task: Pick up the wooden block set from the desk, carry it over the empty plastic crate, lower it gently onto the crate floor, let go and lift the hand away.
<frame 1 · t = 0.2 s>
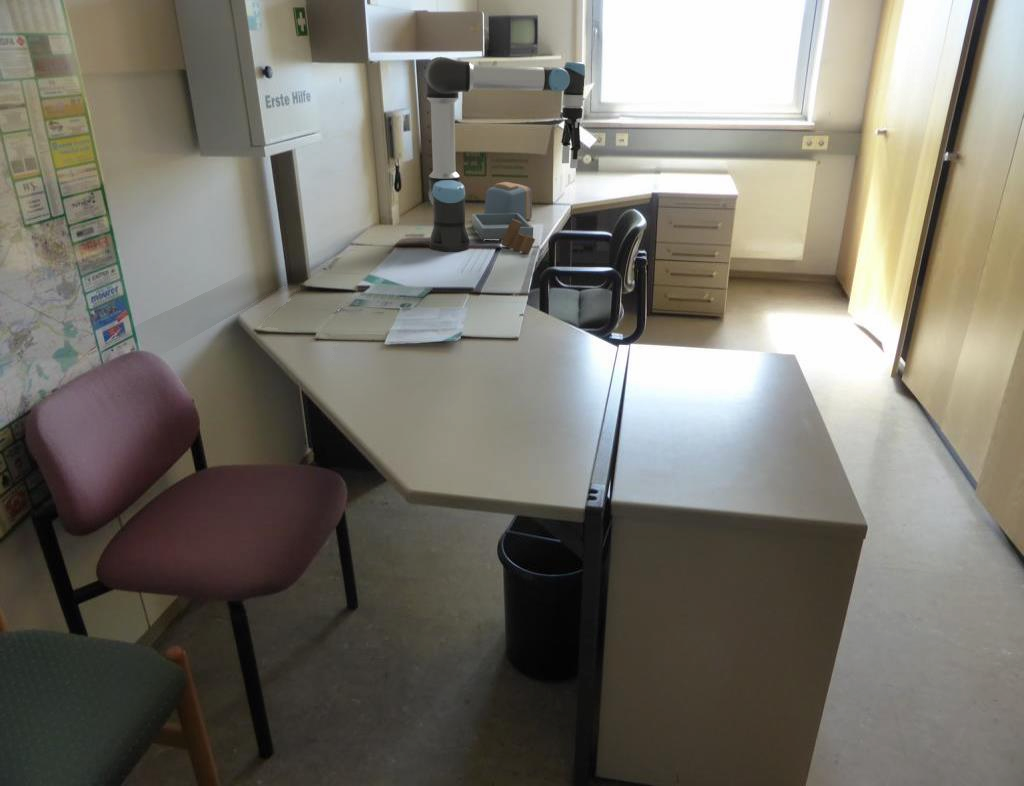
hand: (569, 165, 283), 28 cm above the table, tool pointing down, fingers open, 13 cm apart
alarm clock: (507, 219, 324), on the table
crate: (501, 232, 298), on the table
wooden block set: (515, 249, 275), on the table
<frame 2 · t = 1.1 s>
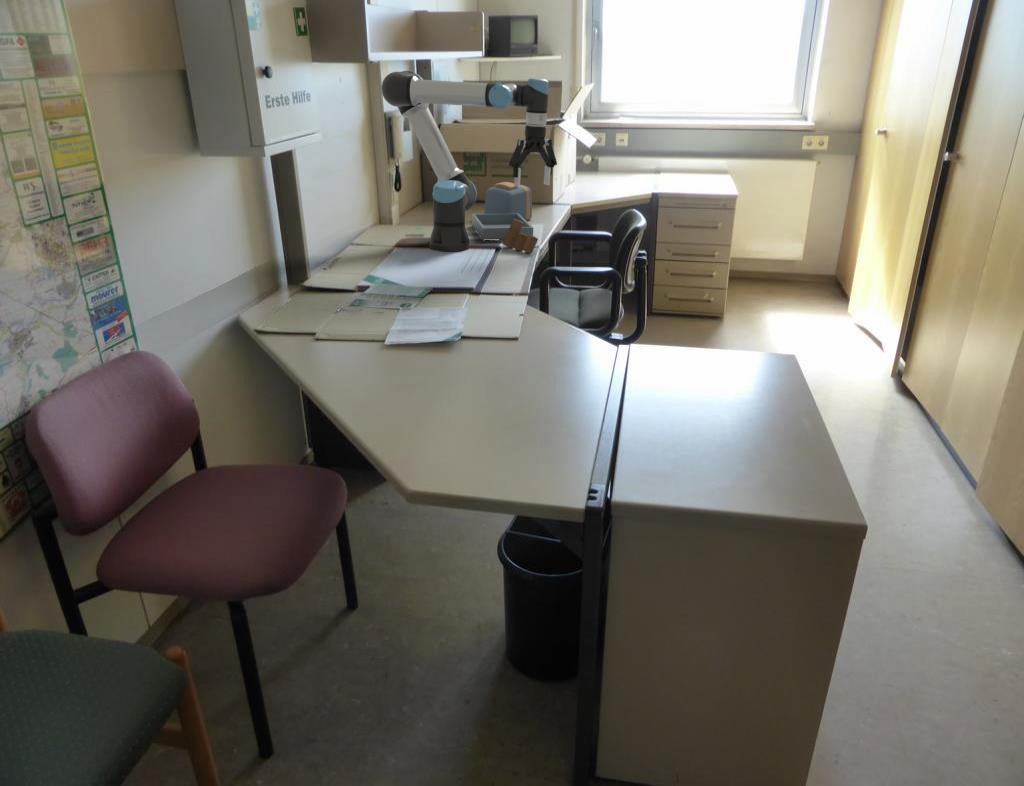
hand: (531, 185, 272), 22 cm above the table, tool pointing down, fingers open, 13 cm apart
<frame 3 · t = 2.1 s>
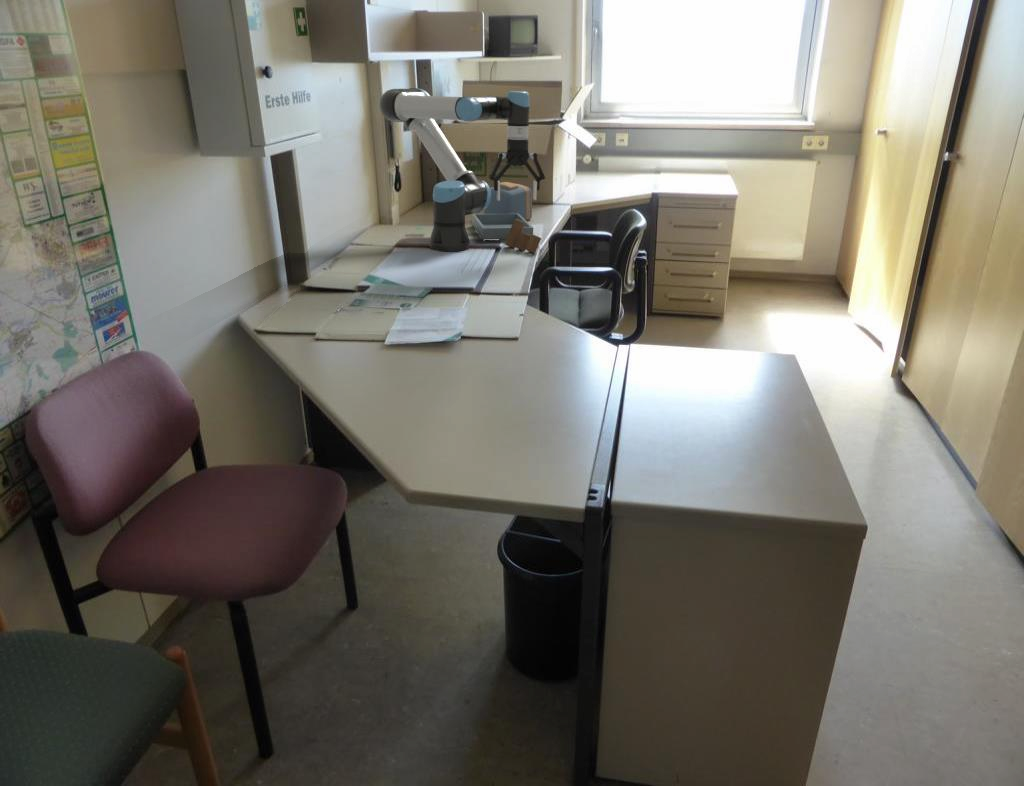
hand: (516, 199, 267), 18 cm above the table, tool pointing down, fingers open, 13 cm apart
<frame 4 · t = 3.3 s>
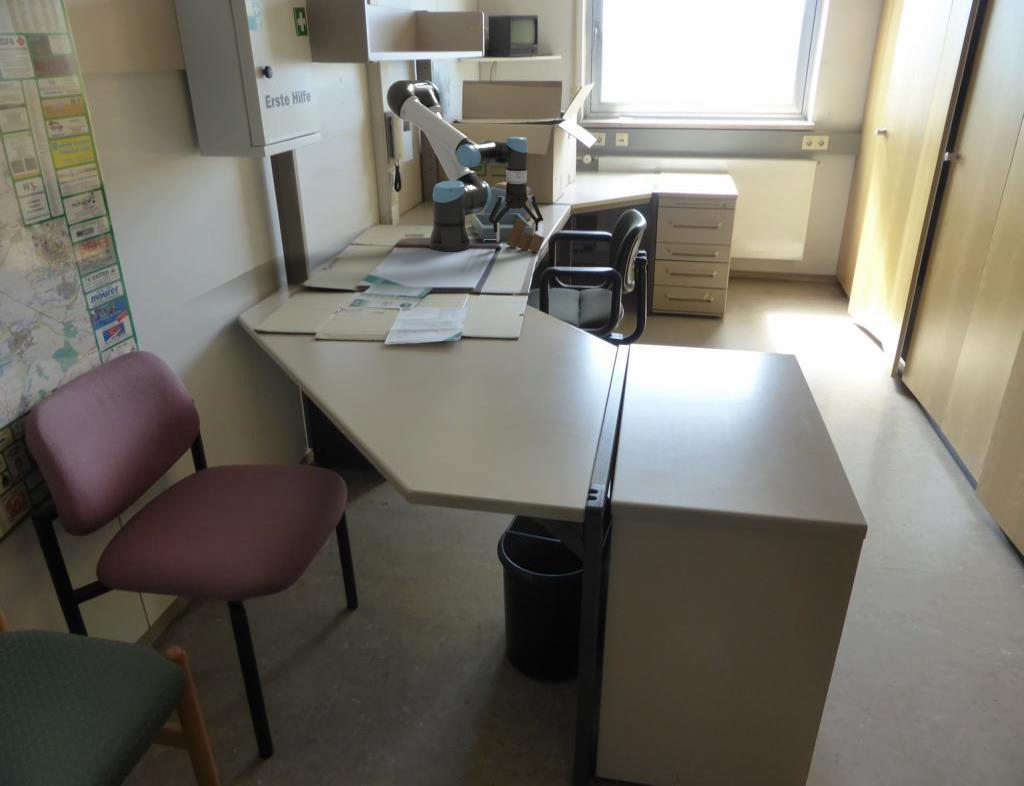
hand: (515, 240, 273), 3 cm above the table, tool pointing down, fingers open, 13 cm apart
wooden block set: (521, 249, 276), on the table, touching gripper
everything else where it was.
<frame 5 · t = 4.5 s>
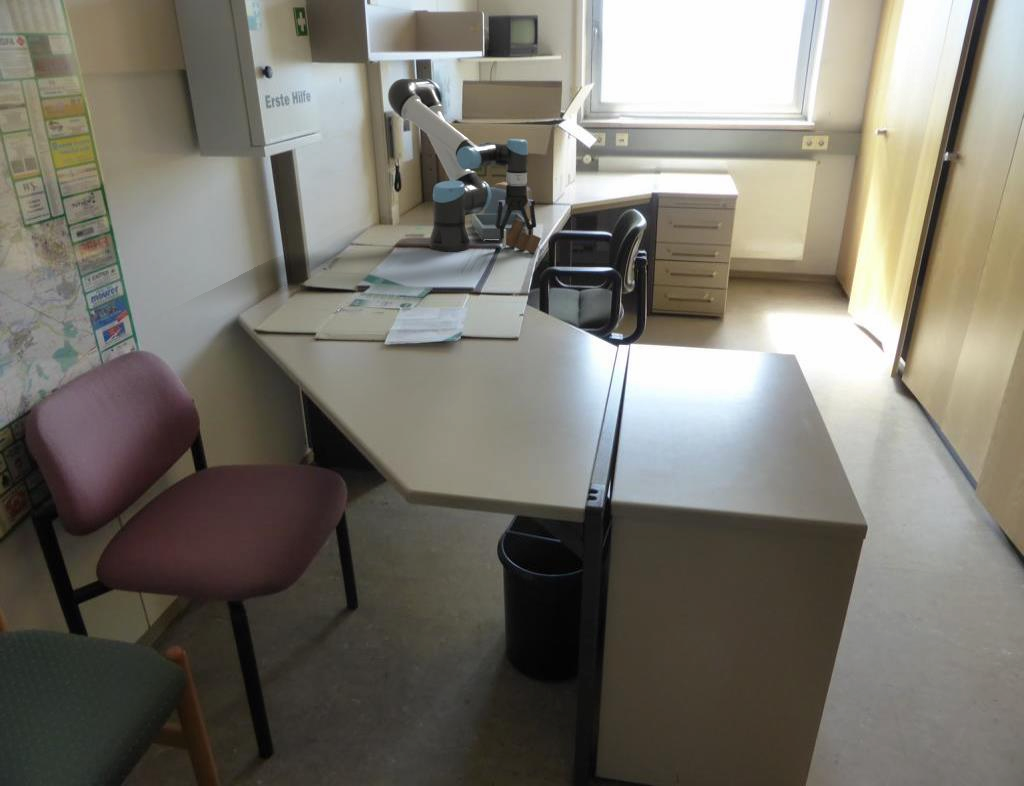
hand: (515, 246, 274), 1 cm above the table, tool pointing down, fingers closed on wooden block set, 8 cm apart
wooden block set: (519, 249, 274), on the table, touching gripper
everything else where it was.
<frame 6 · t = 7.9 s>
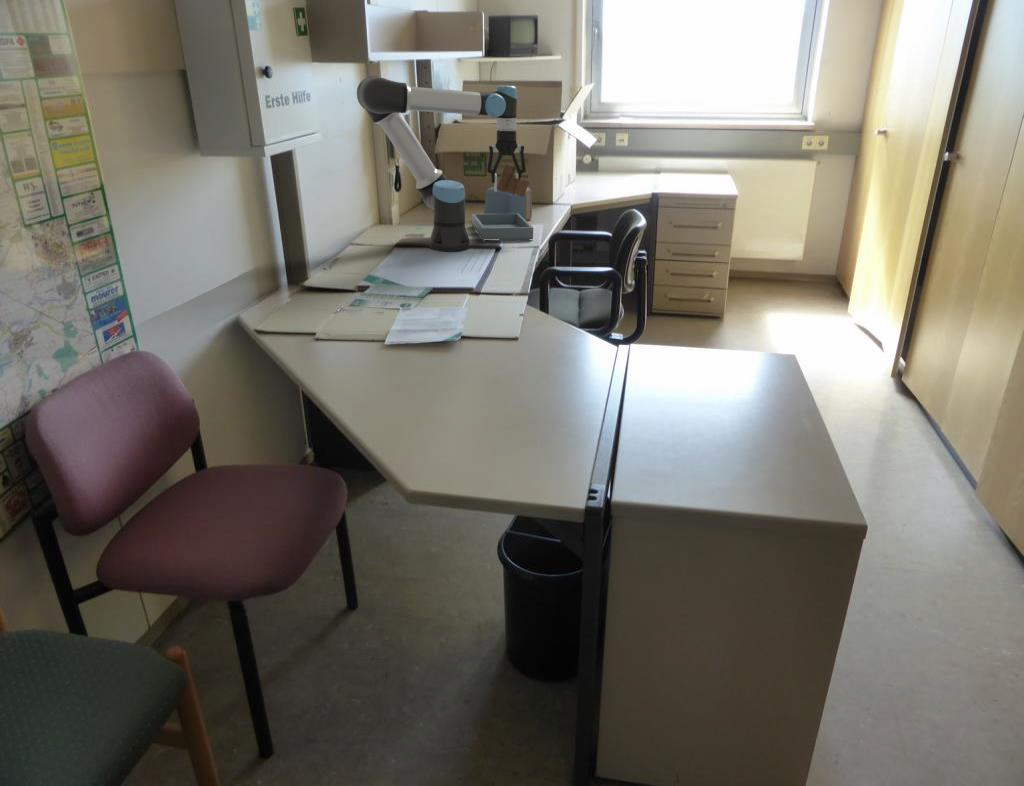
hand: (506, 191, 287), 18 cm above the table, tool pointing down, fingers closed on wooden block set, 8 cm apart
wooden block set: (510, 193, 287), point 16 cm above the table, touching gripper
everything else where it was.
when the fingers open (3 cm above the table, at t = 11.4 s): wooden block set stays where it is, resting on crate.
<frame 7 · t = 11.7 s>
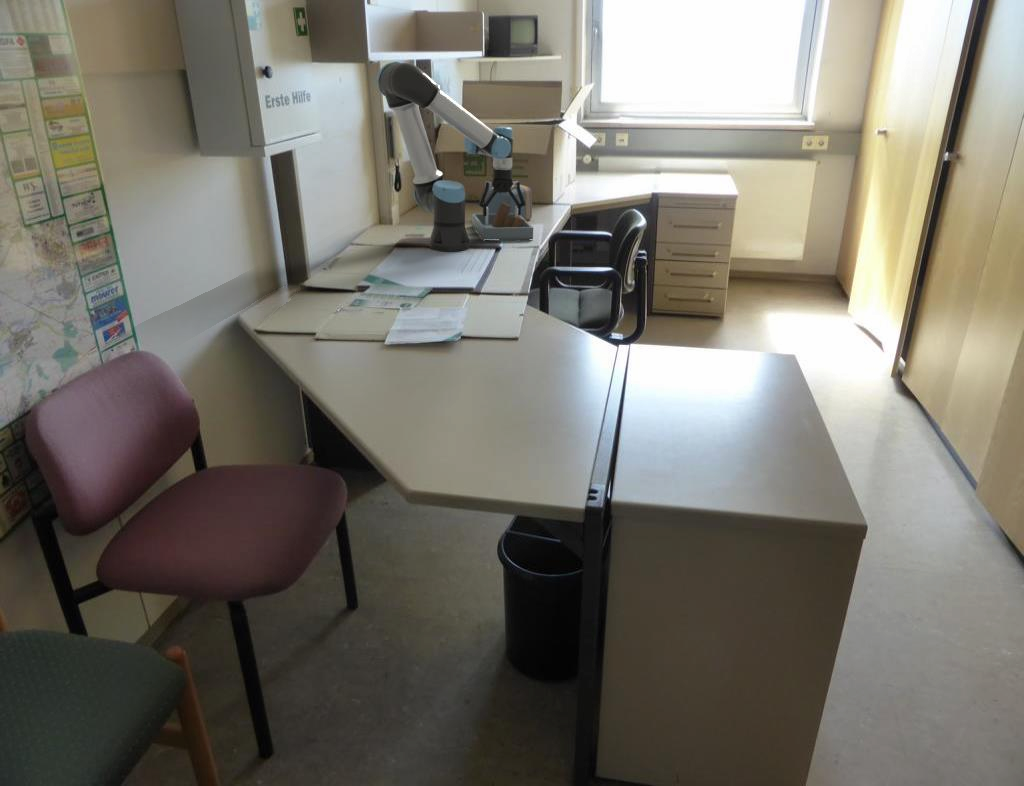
hand: (501, 223, 297), 4 cm above the table, tool pointing down, fingers open, 11 cm apart
wooden block set: (505, 230, 298), point 1 cm above the table, touching crate
everything else where it was.
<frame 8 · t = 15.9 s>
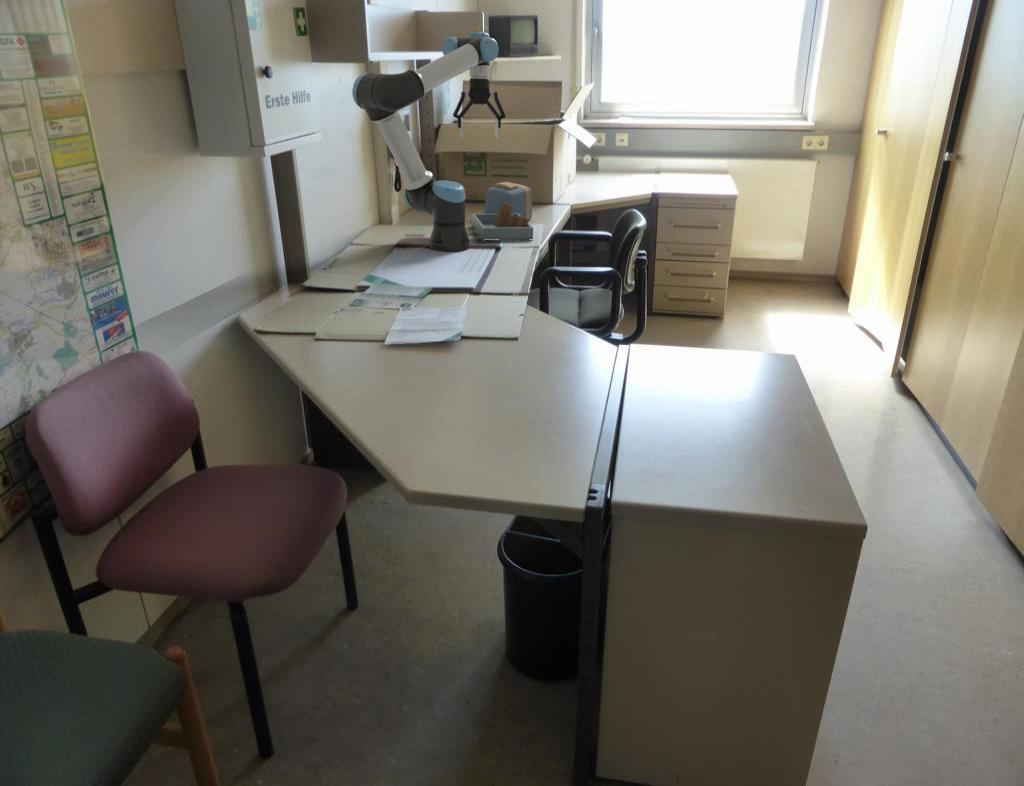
hand: (479, 137, 284), 37 cm above the table, tool pointing down, fingers open, 13 cm apart
wooden block set: (508, 230, 299), point 1 cm above the table, touching crate
everything else where it was.
at the end: wooden block set inside the target area on the crate (2.9 cm from its centre), point 0.8 cm above the crate's base; wooden block set tilted 0°; the gripper is holding nothing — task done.
